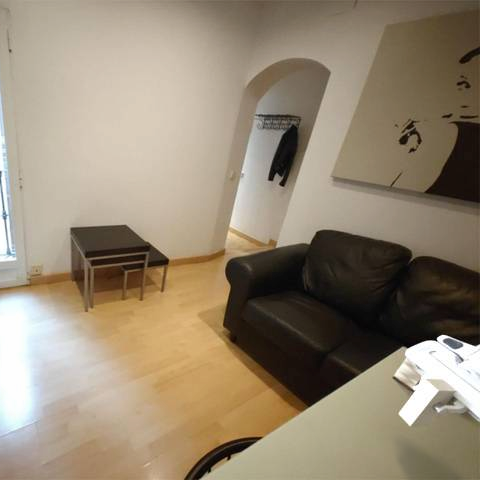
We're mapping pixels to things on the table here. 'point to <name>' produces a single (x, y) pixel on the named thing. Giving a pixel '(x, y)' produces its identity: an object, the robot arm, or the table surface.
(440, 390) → the white rectangular block
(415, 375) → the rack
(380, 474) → the table surface
